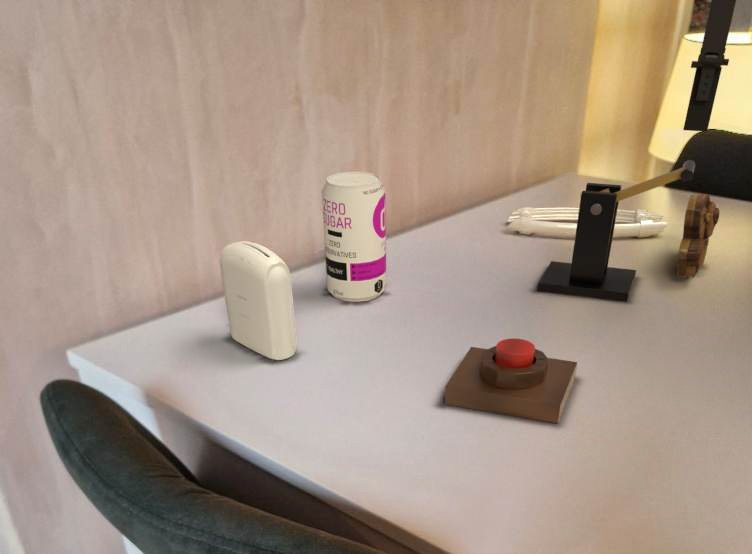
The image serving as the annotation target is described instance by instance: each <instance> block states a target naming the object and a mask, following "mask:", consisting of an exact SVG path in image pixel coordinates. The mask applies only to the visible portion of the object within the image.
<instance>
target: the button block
mask: <svg viewBox="0 0 752 554" xmlns="http://www.w3.org/2000/svg"><path fill="white" fill-rule="evenodd" d="M495 355H496V345H495V346H491V347H489V348H483V347H475V346H470V348H469V349H468V351H467V352H466V354H465V355H464V356H463V359H462V360H461V361H460V363H459V365H458V366H457V368H456V369H455V371H454V372H453V374H452V375H451V377H450V378H449V380H448V382H447V383H446V385H445V388H444V405H447V406H452V407H459V408H465V409H471V410H476V411H483V412H486V413H487V412H489V413H493V414H500V415H505V416H510V417H511V416H512V417H518V418H523V419H528V420H529V419H530V420H535V421H541V422H547V423H552V424H559V421H560V419H561V416H562V414H563V411H564V408H565V406H566V403H567V400H568V398H569V396H570V392H571V391H572V388H573V385H574V382H575V379H576V374H577V367H578V361H572V360H567V359H566V360H565V359H560V358H559V359H558V358H551V357H548V356H547V355H546V353H544V352H543V351H542V350H540V349H537V348H535V352H534V361H533V365H531V366H529V367H527V368H518V369H514V368H507V367H503V366H501V365H499V364H496V362H495Z"/></svg>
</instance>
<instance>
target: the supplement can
mask: <svg viewBox="0 0 752 554" xmlns="http://www.w3.org/2000/svg"><path fill="white" fill-rule="evenodd" d="M321 202H322V217H323V218H322V219H323V232H324V233H323V237H324V253H325V254H324V255H325V256H324V257H325V272H326V287H327V288H326V289H327V291H328V292H329V294H331V295H332V296H333V297H334V298H335V299H337V300H340V301H345V302H349V303H350V302H352V303H353V302H358V303H359V302H367V301H370V300H374V299H377V298H378V297H380V296H381V294H382V293H383V292H385V290H386V288H387V220H386V218H387V217H386V216H387V215H386V213H387V212H386V209H387V208H386V202H387V201H386V189H385V187H384V185H383V184H382V181H381V177H380V175H378V174H376V173H372V172H366V171H346V172H345V171H344V172H339V173H334V174H331V175H329V176H327V177H326V178H325V183H324V186H323V188H322V190H321Z"/></svg>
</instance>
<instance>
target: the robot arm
mask: <svg viewBox="0 0 752 554" xmlns="http://www.w3.org/2000/svg"><path fill="white" fill-rule="evenodd" d="M736 3H737V0H711V1H710V7H709V11H708V15H707V21H706V26H705V29H704V35H703V40H702V44H701V47H700V51H699V54H698V56H697V60H692V61H691V64H690V68H691V69H695V72H694V78H693V83H692V87H691V90H690V91H691V92H690V96H689V100H688V106H687V110H686V115H685V120H684V123H683V124H684V125H683V129H682V130H683V131H690V132H691V131H692V132H708V129H709V125H710V121H711V116H712V113H713V112H712V111H713V109H714V105H715V99H716V95H717V92H718V91H717V90H718V86H719V82H720V77H721V73H722V70H723V69H722V68H723V67H724V66H725V67H726V66H727V67H728V66H729V63H730V58H726V57H725V56H726V55H725V53H726V50H727V48H726V46H727V41H728V37H729V34H730V29H731V25H732V20H733V15H734V12H735V7H736Z"/></svg>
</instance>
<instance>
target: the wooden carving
mask: <svg viewBox="0 0 752 554" xmlns="http://www.w3.org/2000/svg"><path fill="white" fill-rule="evenodd" d="M716 205H717V204H716V203H715V202H714V201H711V197H710V194H705V193H704V194H699V193H694V194H690V195H689V197H688V201H687V206H686V209H685V214H684V219H683V220H684V221H683V232H682V238H681V241H680V245H679V249H678V257H677V258H678V259H677V270H676V277H677V278H685V277H693V278H694V277H695V276H696V273H697V270H701V269H702V267H703V265H704V262H705V259H706V255H707V251H708V246H709V242H710V237H712V236H713V233H714V230H715V227H716V225H717V224H718V222H719V219H720V209H719V207H717V206H716Z"/></svg>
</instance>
